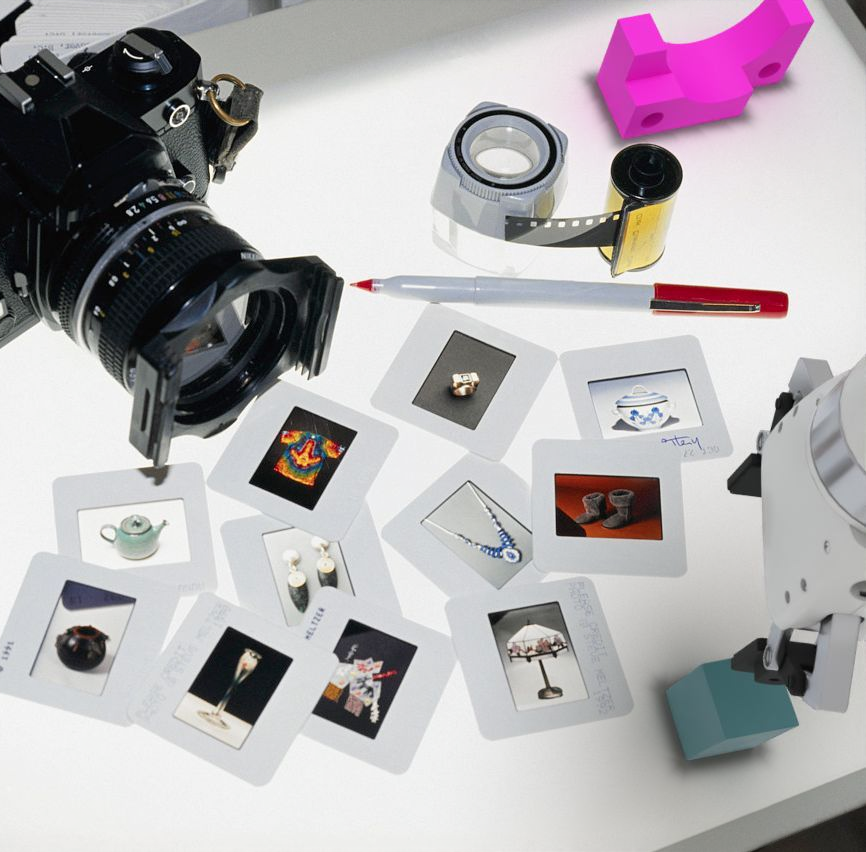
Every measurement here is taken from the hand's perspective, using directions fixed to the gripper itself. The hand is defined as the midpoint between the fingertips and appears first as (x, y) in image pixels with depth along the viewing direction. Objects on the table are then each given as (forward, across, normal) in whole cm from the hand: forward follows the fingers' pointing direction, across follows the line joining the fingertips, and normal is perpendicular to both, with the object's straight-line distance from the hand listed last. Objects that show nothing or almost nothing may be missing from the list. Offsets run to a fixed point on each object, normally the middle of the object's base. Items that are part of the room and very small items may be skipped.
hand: (757, 576), depth 64 cm
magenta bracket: (+20, +49, -3) cm, 53 cm away
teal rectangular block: (+20, -3, -4) cm, 20 cm away
